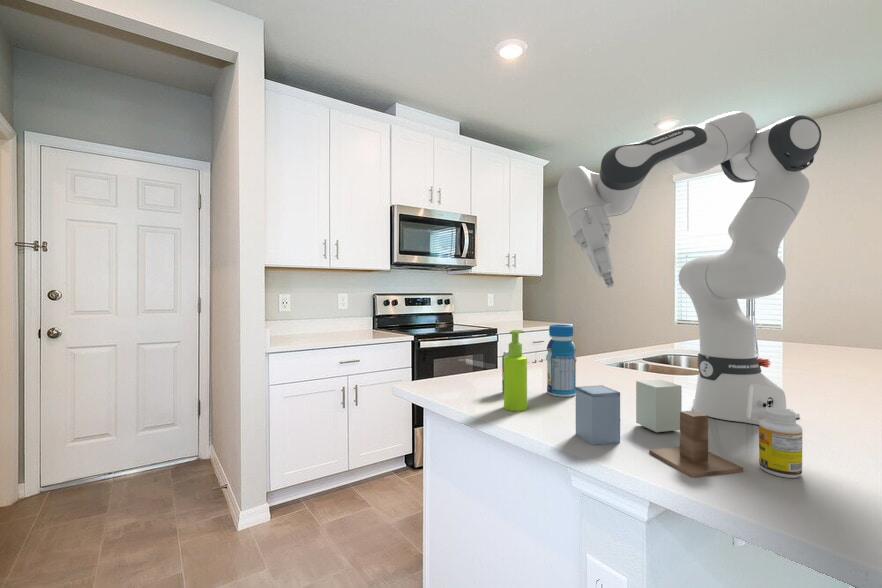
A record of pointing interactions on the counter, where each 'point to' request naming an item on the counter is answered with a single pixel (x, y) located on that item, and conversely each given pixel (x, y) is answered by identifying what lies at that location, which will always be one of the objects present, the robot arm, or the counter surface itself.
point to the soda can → (503, 369)
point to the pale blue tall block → (598, 414)
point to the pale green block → (658, 405)
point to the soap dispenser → (515, 376)
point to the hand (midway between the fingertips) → (608, 278)
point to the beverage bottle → (561, 362)
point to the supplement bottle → (780, 443)
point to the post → (695, 449)
